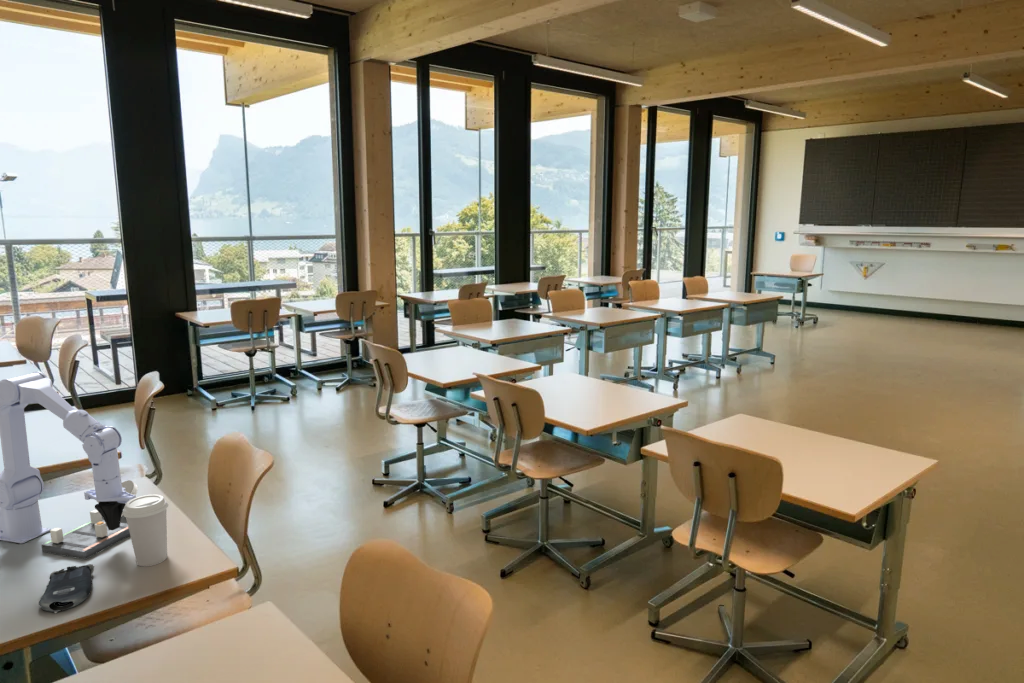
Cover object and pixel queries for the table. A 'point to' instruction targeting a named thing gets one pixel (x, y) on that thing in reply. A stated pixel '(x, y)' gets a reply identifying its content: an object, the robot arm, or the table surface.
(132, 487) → the tabbed white plastic disc
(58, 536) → the block
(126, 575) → the table surface
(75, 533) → the grey slider switch panel
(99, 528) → the block
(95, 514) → the block
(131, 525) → the coffee cup
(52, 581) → the electronic device
